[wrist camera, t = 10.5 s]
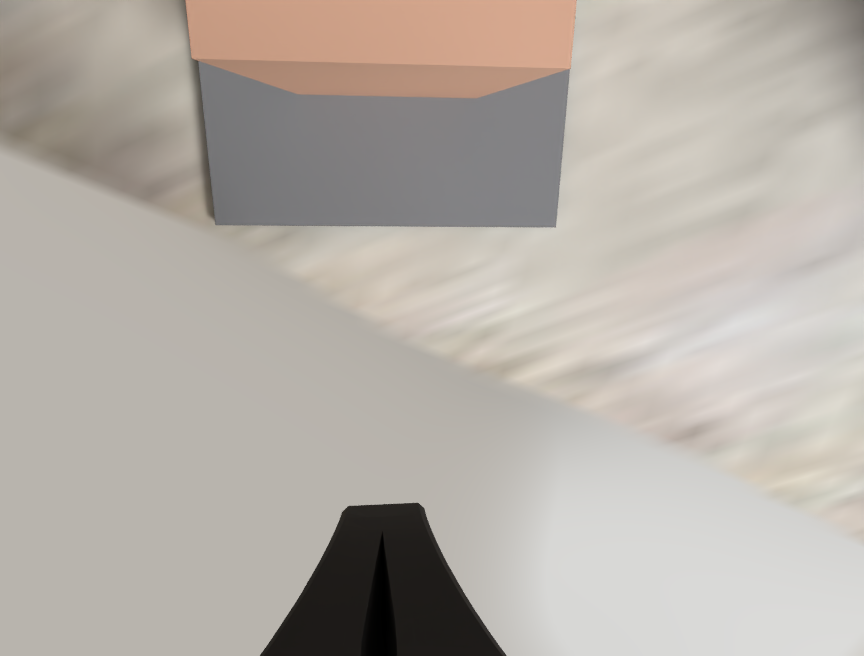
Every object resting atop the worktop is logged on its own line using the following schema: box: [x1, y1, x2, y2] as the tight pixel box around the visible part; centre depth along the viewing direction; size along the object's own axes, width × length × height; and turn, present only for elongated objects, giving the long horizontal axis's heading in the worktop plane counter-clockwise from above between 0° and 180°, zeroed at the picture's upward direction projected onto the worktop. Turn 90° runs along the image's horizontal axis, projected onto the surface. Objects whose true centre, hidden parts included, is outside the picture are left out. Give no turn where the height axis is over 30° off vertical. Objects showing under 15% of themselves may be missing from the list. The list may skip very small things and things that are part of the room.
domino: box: [185, 0, 577, 98], centre depth 10 cm, size 2×4×8 cm, turn 89°
